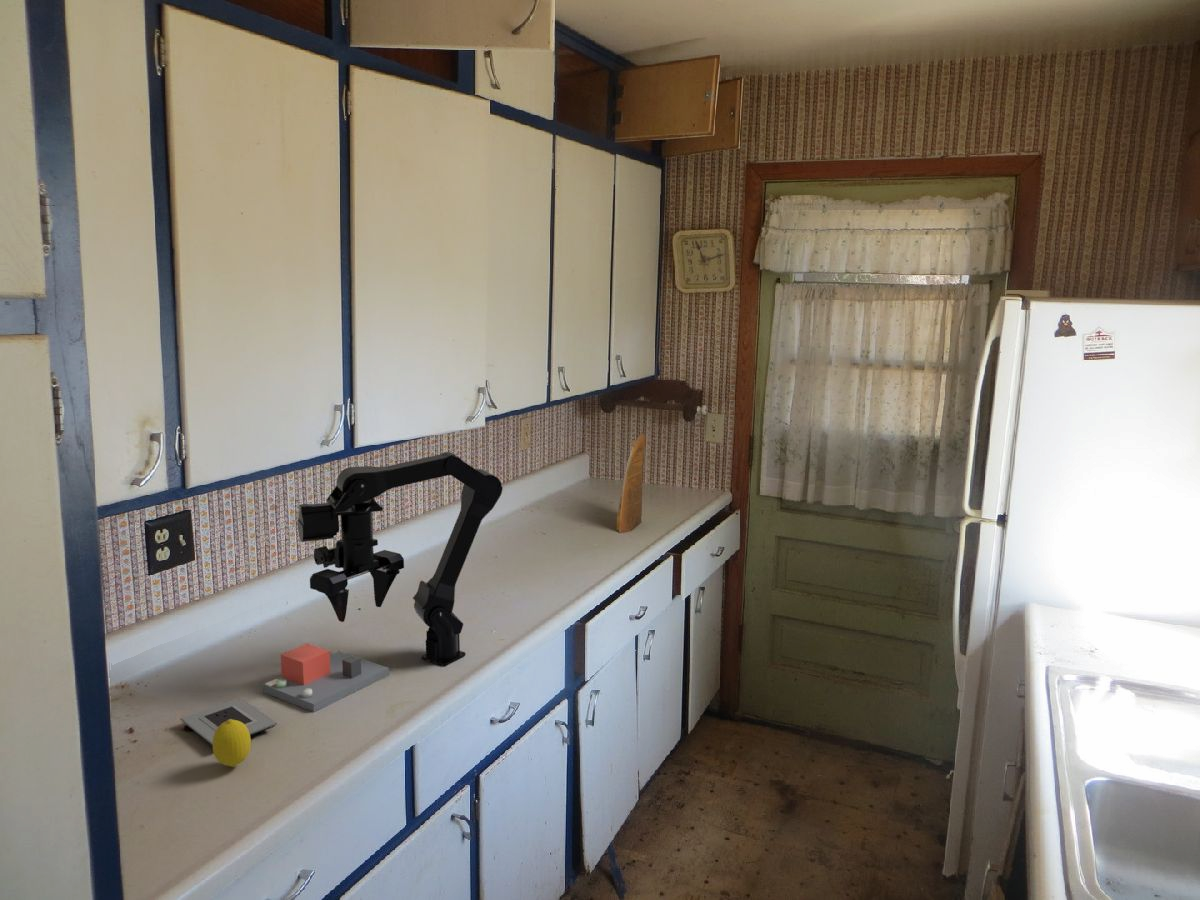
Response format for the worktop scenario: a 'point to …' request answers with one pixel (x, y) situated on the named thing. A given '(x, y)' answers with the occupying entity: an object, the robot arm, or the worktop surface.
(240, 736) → the lemon
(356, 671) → the dark grey small block
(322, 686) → the panel
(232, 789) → the worktop surface
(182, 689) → the worktop surface
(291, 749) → the worktop surface
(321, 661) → the cap
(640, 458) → the wooden fin shape
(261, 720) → the electrical outlet
